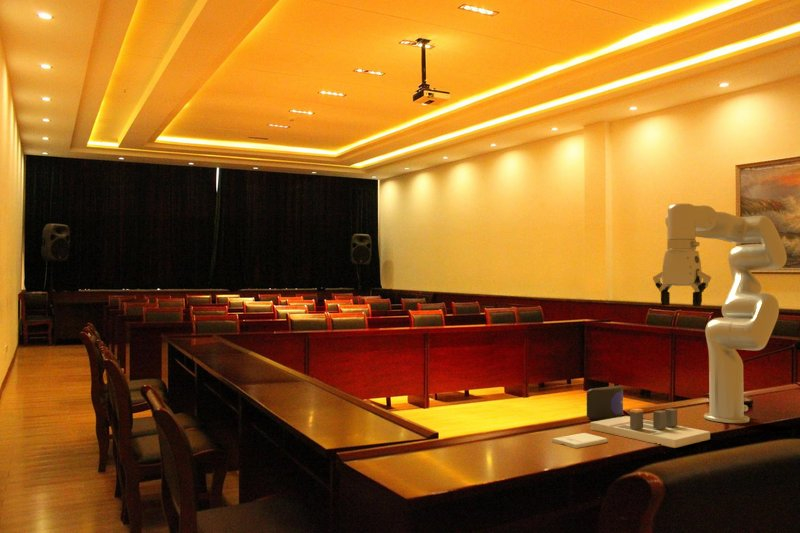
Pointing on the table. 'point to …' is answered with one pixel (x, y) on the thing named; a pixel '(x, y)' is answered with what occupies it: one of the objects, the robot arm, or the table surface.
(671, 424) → the breaker handle
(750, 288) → the robot arm
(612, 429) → the white flat board
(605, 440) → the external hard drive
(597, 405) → the dark olive rounded block
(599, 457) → the table surface
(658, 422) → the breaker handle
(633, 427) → the handle
